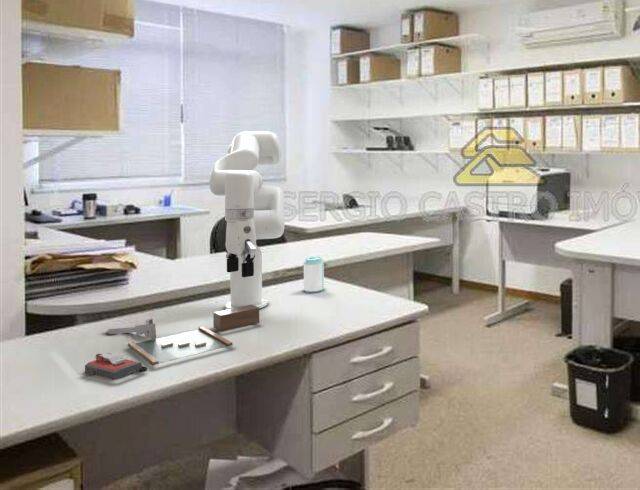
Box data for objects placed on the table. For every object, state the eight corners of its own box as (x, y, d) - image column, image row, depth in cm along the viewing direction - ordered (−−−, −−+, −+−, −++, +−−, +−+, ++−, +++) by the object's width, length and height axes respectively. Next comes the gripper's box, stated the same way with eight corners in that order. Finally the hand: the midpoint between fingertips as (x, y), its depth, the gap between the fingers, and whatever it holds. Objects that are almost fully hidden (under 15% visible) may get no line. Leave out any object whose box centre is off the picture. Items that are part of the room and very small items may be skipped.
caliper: (156, 342, 154) (156, 319, 154) (152, 344, 153) (152, 320, 153) (109, 332, 162) (108, 310, 162) (105, 333, 161) (104, 311, 161)
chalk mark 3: (194, 345, 148) (194, 343, 148) (204, 343, 150) (204, 341, 150) (196, 346, 147) (196, 344, 147) (206, 344, 149) (206, 342, 149)
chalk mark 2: (177, 345, 148) (177, 344, 148) (187, 343, 150) (187, 341, 150) (179, 347, 147) (179, 345, 147) (189, 344, 149) (189, 342, 149)
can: (300, 292, 207) (299, 259, 206) (309, 287, 214) (309, 255, 213) (318, 293, 205) (318, 260, 205) (327, 288, 212) (327, 256, 212)
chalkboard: (128, 349, 149) (128, 342, 149) (202, 332, 162) (202, 326, 162) (153, 369, 135) (153, 362, 135) (232, 349, 149) (232, 342, 149)
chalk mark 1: (161, 346, 148) (161, 344, 148) (171, 343, 149) (171, 341, 149) (162, 347, 147) (162, 345, 147) (172, 344, 149) (172, 343, 149)
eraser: (213, 331, 163) (213, 312, 163) (251, 322, 171) (251, 304, 171) (220, 335, 159) (220, 315, 159) (259, 326, 168) (259, 307, 168)
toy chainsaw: (156, 372, 134) (101, 359, 142) (156, 353, 134) (101, 341, 142) (118, 386, 126) (62, 372, 134) (118, 366, 126) (62, 353, 134)
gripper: (266, 215, 161) (266, 276, 162) (239, 211, 173) (239, 267, 173) (239, 218, 156) (240, 280, 156) (213, 213, 167) (214, 271, 167)
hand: (240, 274), depth 164 cm, fingers open, 9 cm apart
